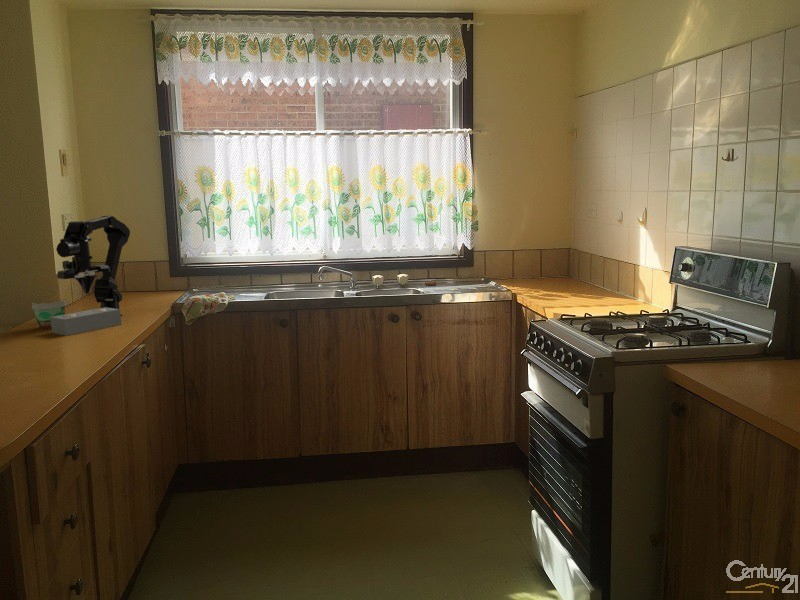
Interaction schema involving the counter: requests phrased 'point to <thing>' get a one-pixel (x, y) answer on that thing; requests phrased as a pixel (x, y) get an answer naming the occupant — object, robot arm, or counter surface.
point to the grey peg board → (85, 321)
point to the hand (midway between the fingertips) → (86, 293)
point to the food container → (48, 313)
